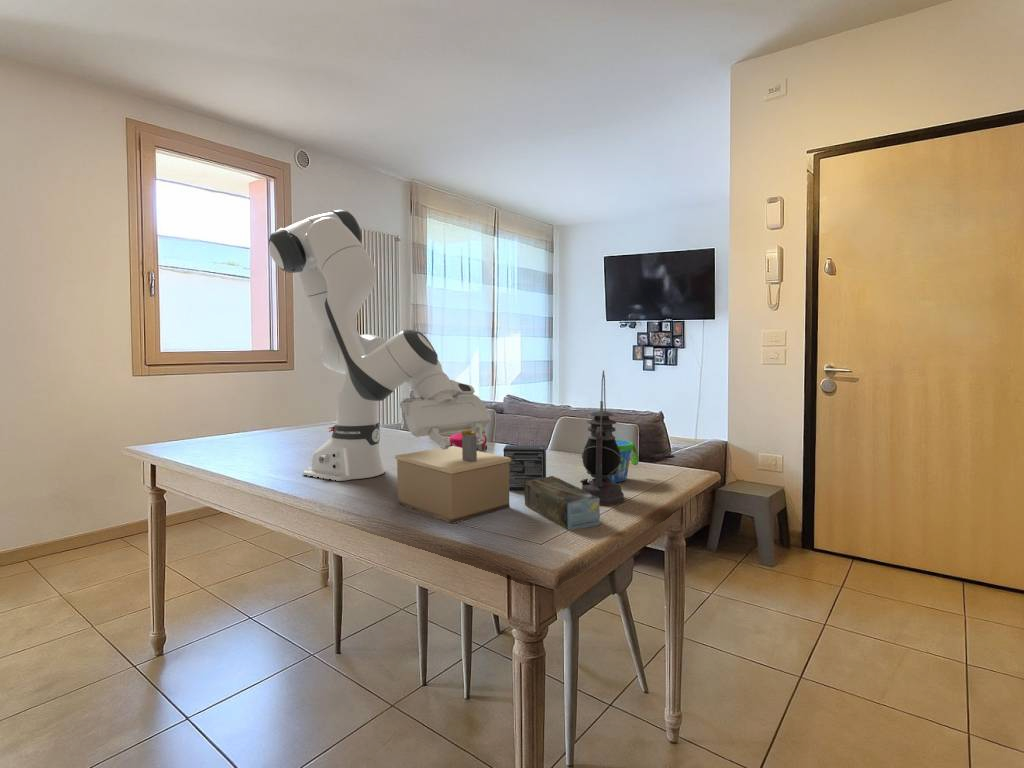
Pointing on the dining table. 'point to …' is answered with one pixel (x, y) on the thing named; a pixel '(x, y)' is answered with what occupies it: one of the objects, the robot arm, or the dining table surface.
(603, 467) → the lantern
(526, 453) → the small box
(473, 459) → the lid flap
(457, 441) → the cake
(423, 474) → the cardboard box
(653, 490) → the dining table surface
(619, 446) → the snack cup
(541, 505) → the beverage carton
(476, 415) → the robot arm
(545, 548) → the dining table surface
